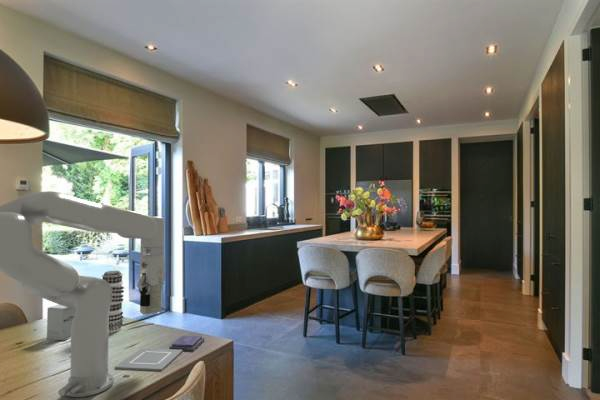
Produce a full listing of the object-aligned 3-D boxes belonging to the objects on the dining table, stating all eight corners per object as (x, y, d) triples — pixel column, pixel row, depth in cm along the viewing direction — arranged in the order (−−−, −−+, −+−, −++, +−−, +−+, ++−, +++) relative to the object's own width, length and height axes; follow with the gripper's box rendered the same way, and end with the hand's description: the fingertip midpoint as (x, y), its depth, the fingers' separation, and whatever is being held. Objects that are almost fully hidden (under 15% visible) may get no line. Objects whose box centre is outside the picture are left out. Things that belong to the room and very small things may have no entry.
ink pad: (193, 350, 131) (193, 345, 131) (169, 349, 132) (169, 344, 132) (204, 340, 142) (204, 335, 142) (181, 339, 143) (181, 335, 143)
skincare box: (157, 309, 128) (158, 275, 128) (162, 312, 124) (162, 276, 125) (139, 312, 124) (140, 276, 124) (143, 315, 120) (143, 278, 121)
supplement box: (61, 340, 142) (62, 308, 143) (46, 339, 144) (46, 307, 144) (76, 334, 149) (77, 303, 150) (61, 333, 151) (62, 302, 151)
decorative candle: (94, 331, 152) (95, 272, 153) (113, 325, 161) (114, 269, 162) (109, 334, 149) (110, 274, 150) (128, 327, 157) (129, 270, 158)
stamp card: (161, 370, 115) (161, 368, 115) (114, 368, 117) (114, 366, 117) (183, 351, 131) (183, 349, 131) (141, 349, 132) (141, 347, 133)
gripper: (149, 254, 116) (148, 310, 115) (173, 249, 133) (172, 297, 132) (127, 254, 117) (126, 309, 116) (154, 249, 134) (153, 297, 133)
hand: (151, 302), depth 124 cm, fingers closed on skincare box, 7 cm apart
